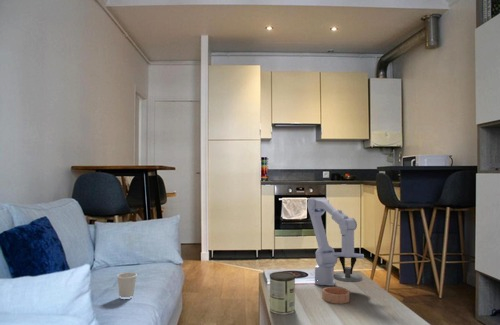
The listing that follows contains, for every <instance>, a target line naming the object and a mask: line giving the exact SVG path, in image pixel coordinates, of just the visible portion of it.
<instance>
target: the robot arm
mask: <svg viewBox="0 0 500 325" xmlns="http://www.w3.org/2000/svg"><path fill="white" fill-rule="evenodd" d="M306 207H307V211H308V213H309V216H310V220H311V221H310V222H311V224H312V228H313V232H314V236H315V238H316V240H315V241H316V242H317V247H318V248H317V249H316V251H314V252H315V262H316V264H315V266H314V285H321V286H327V287H328V286H329V287H335V284H336V283H335V282H336V280H335V279H334V277H333V275H334V274H335V266H336V264H337V263H338V260H339V262H340V264H341V266H342V273H344V274H345V267H346V259H350V267H351V274H353V270H354V267H355V264H356V263H357V259H360V260H364V259H365V255H364V253H356V252H355V230H357V226H358V224H357V221H356V219H355V218H354V217H349V216H348V215H346V214H345V213H344V212H343V211H342V210H341V209H336V208H335V207H334V206H333V205H332V204H331V203H330V200H329V199H328V198H327V197H310V198H309V197H308V200H307V202H306ZM325 212H326V213H328V214H329V215H330V216H331V219H332V220H333V221H334V222H335V223H336V224H338V228H339V230H340V235H341V252H339V251H338V252H337V251H336V252H335V248H334V247H332V246H331V245H330V244H329V241H328V238H327V234H326V230H325V226H324V224H323V220H322V216H323V215H324V214H325ZM338 258H339V259H338ZM317 280H318V281H317Z"/></svg>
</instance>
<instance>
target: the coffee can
mask: <svg viewBox="0 0 500 325" xmlns="http://www.w3.org/2000/svg"><path fill="white" fill-rule="evenodd" d="M295 279H296V275H295V273H292V272H288V271H275V272H271V273H270V274H269V311H270V312H271V313H273V314H277V315H291V314H293V313H295V311H296V309H295V308H296V306H295V305H296V303H295V302H296V300H295V299H296V298H295V297H296V295H295V293H296V292H295V291H296V288H295V287H296V286H295V285H296V284H295V283H296V282H295V281H296V280H295Z"/></svg>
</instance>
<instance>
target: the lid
mask: <svg viewBox="0 0 500 325" xmlns="http://www.w3.org/2000/svg"><path fill="white" fill-rule="evenodd" d="M333 277H334V280H335V281H339V282H344V283H359V282H362V281H363V276H361V275H359V274H357V273H352V274H351V266H345V274H344V272H338V273H334V275H333Z"/></svg>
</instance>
